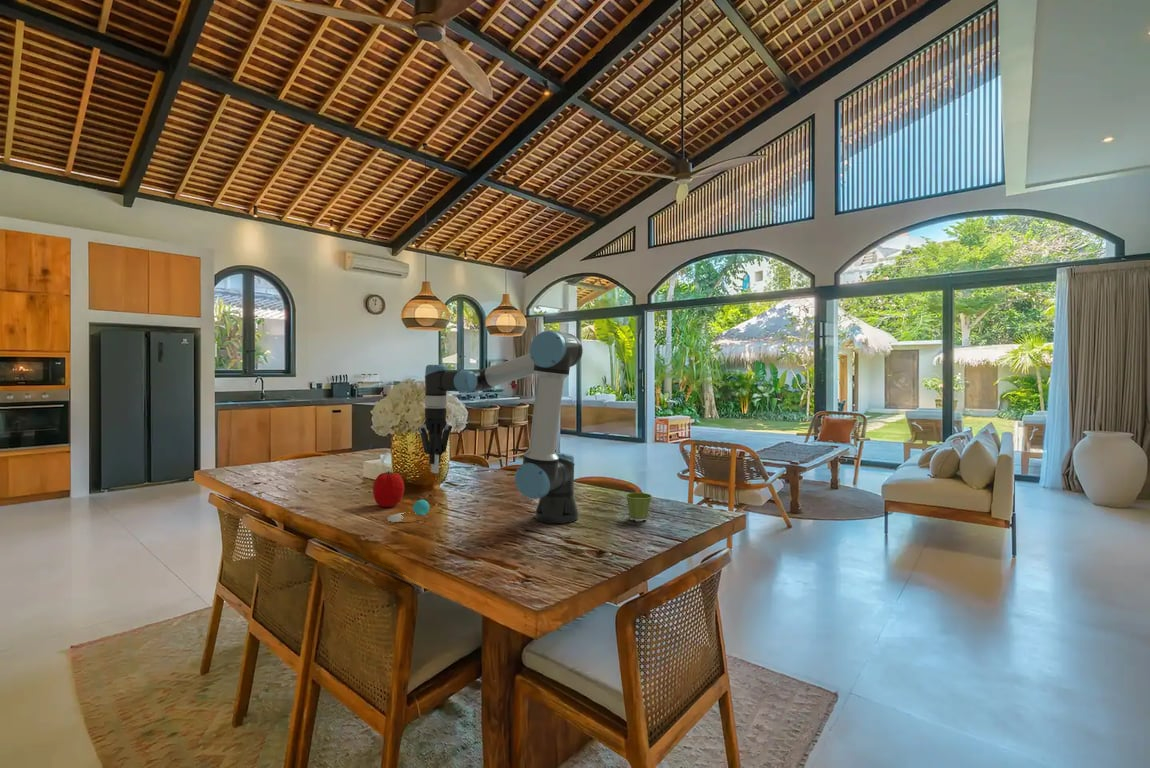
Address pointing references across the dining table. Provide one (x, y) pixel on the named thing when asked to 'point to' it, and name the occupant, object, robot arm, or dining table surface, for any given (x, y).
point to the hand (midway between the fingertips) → (434, 472)
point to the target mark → (395, 517)
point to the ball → (421, 507)
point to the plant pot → (638, 505)
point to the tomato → (388, 489)
